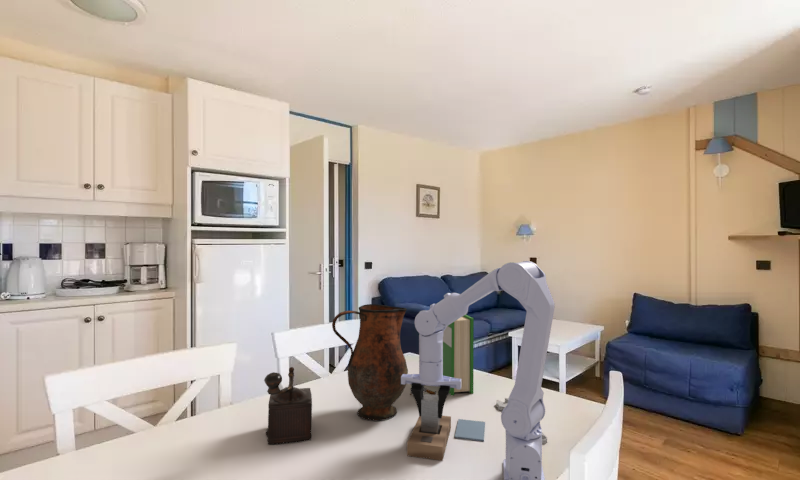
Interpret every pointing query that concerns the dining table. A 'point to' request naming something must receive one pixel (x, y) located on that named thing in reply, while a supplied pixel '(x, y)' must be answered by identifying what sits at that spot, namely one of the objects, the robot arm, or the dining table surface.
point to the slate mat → (470, 430)
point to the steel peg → (430, 414)
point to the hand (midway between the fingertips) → (430, 415)
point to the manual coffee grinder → (288, 411)
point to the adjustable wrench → (501, 406)
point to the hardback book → (459, 352)
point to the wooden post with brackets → (428, 391)
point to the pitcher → (376, 360)
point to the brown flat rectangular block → (429, 441)
